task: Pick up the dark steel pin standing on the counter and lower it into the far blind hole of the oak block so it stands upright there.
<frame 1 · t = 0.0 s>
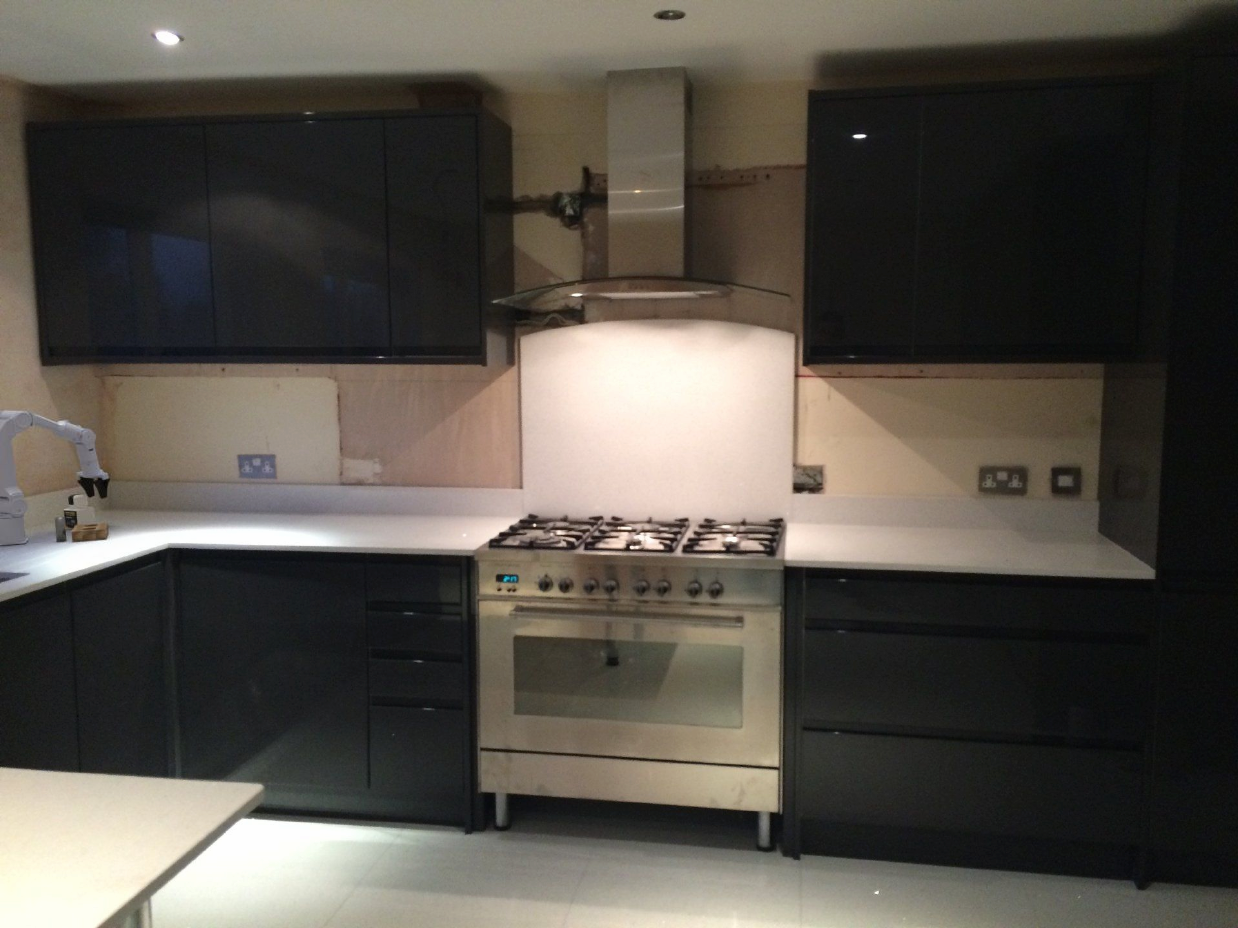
hand: (97, 497, 361), 11 cm above the counter, tool pointing down, fingers open, 6 cm apart
steel pin: (61, 541, 336), on the counter
hole block: (90, 537, 342), on the counter
medicine bottle: (80, 528, 361), on the counter, touching gripper
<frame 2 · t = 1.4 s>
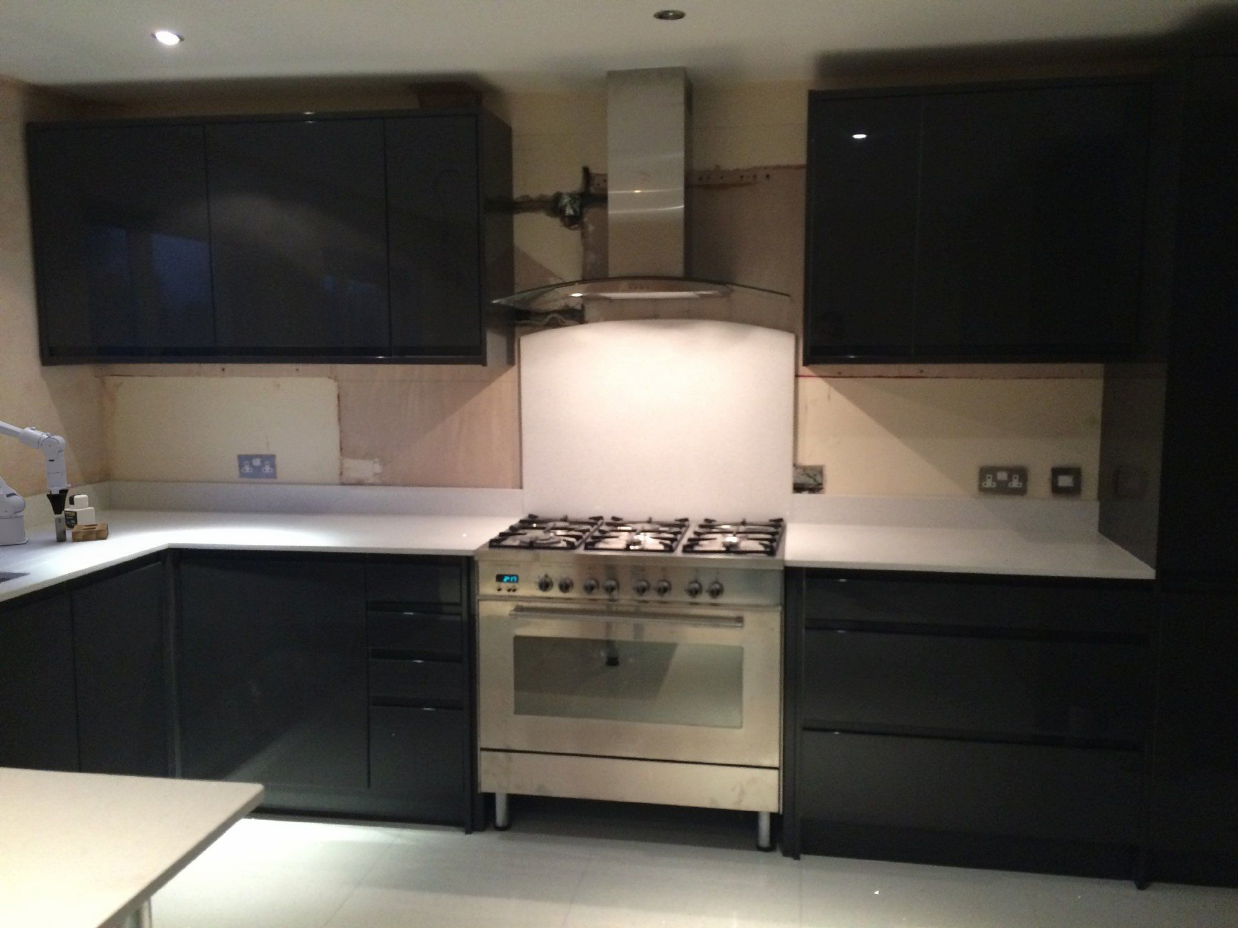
hand: (59, 512, 335), 10 cm above the counter, tool pointing down, fingers open, 7 cm apart
medicine bottle: (80, 528, 361), on the counter
everything else where it was.
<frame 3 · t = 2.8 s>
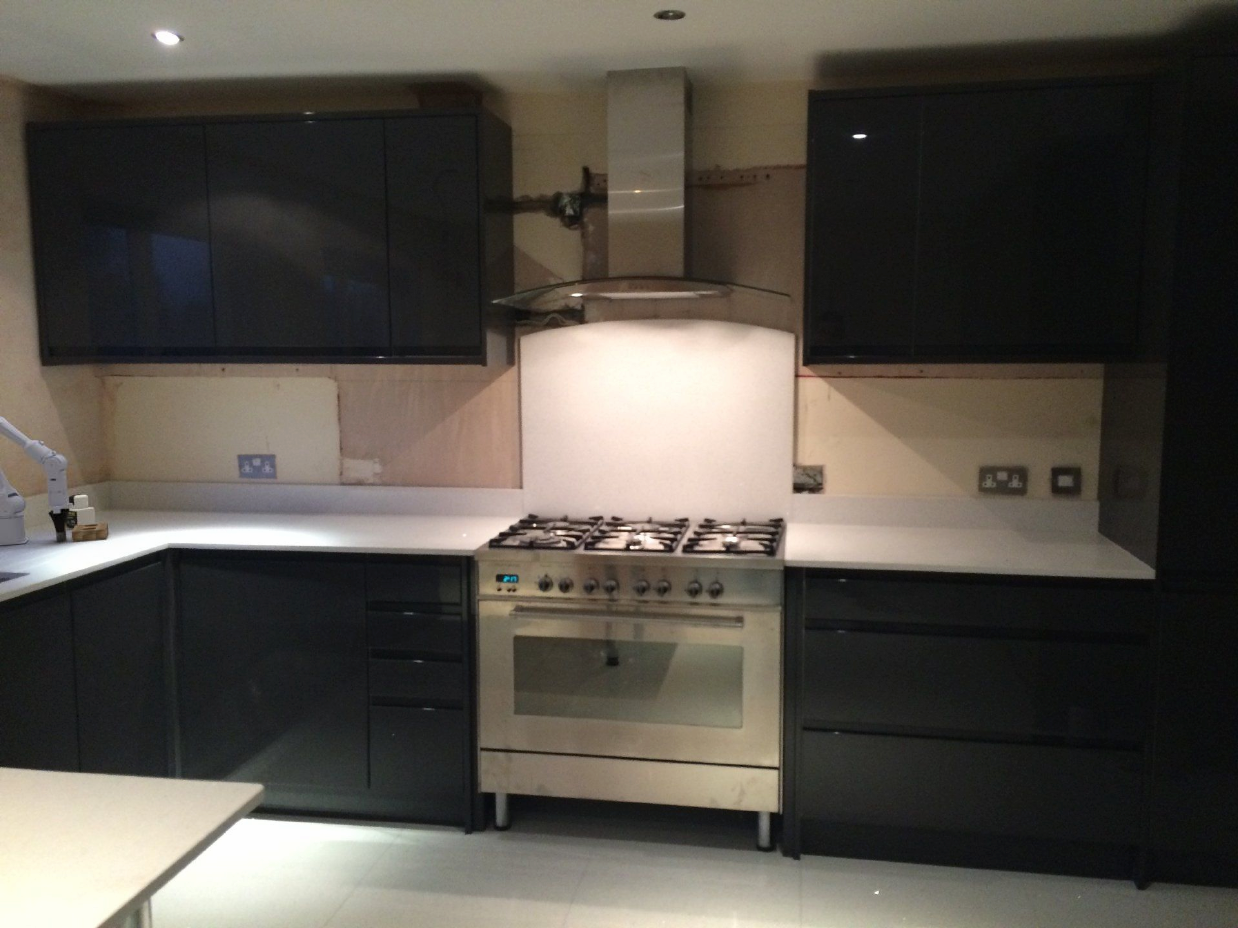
hand: (60, 531, 336), 3 cm above the counter, tool pointing down, fingers closed on steel pin, 3 cm apart
steel pin: (61, 541, 336), on the counter, touching gripper
everything else where it was.
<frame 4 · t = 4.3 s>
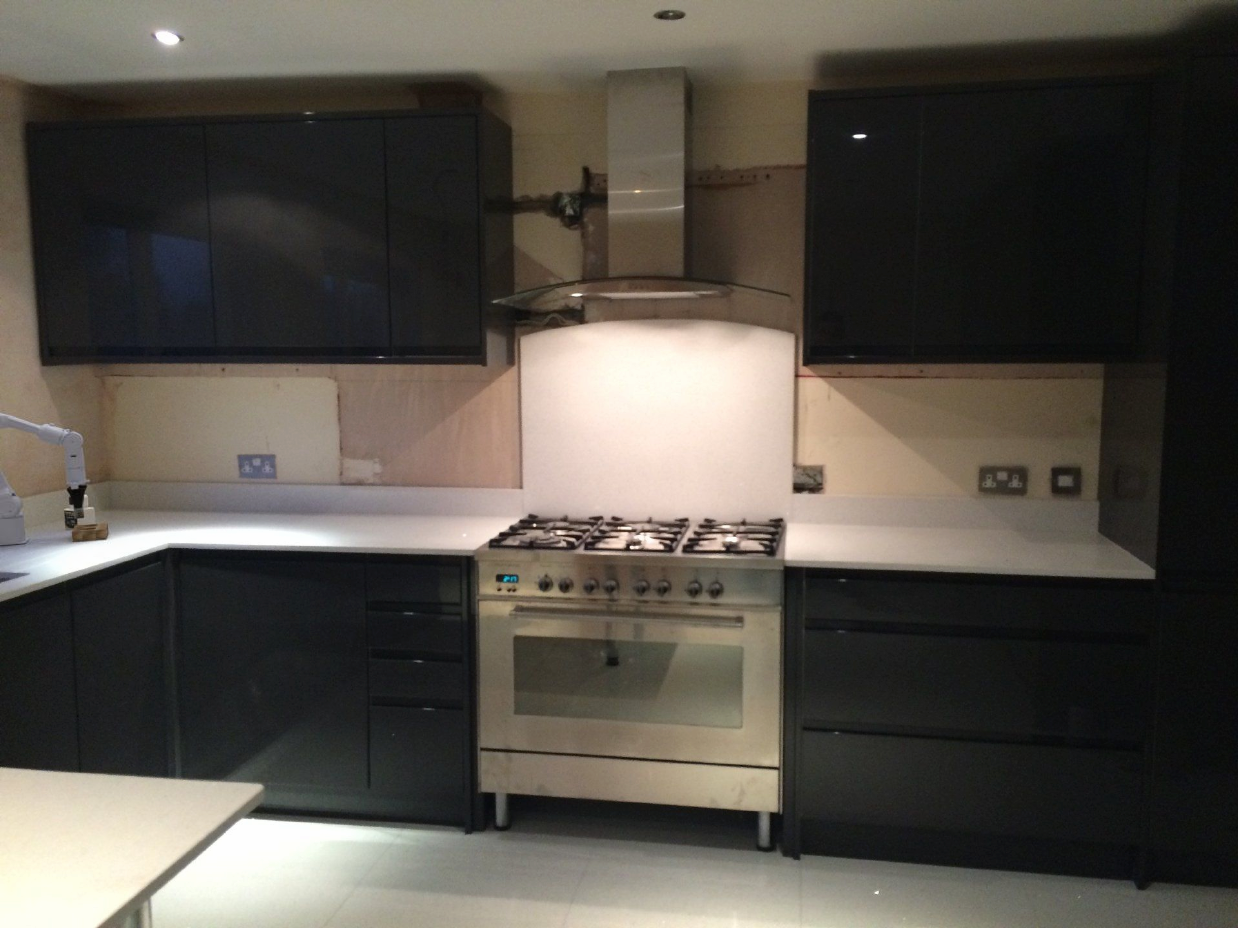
hand: (78, 507, 341), 10 cm above the counter, tool pointing down, fingers closed on steel pin, 3 cm apart
steel pin: (79, 517, 341), point 7 cm above the counter, touching gripper
everything else where it was.
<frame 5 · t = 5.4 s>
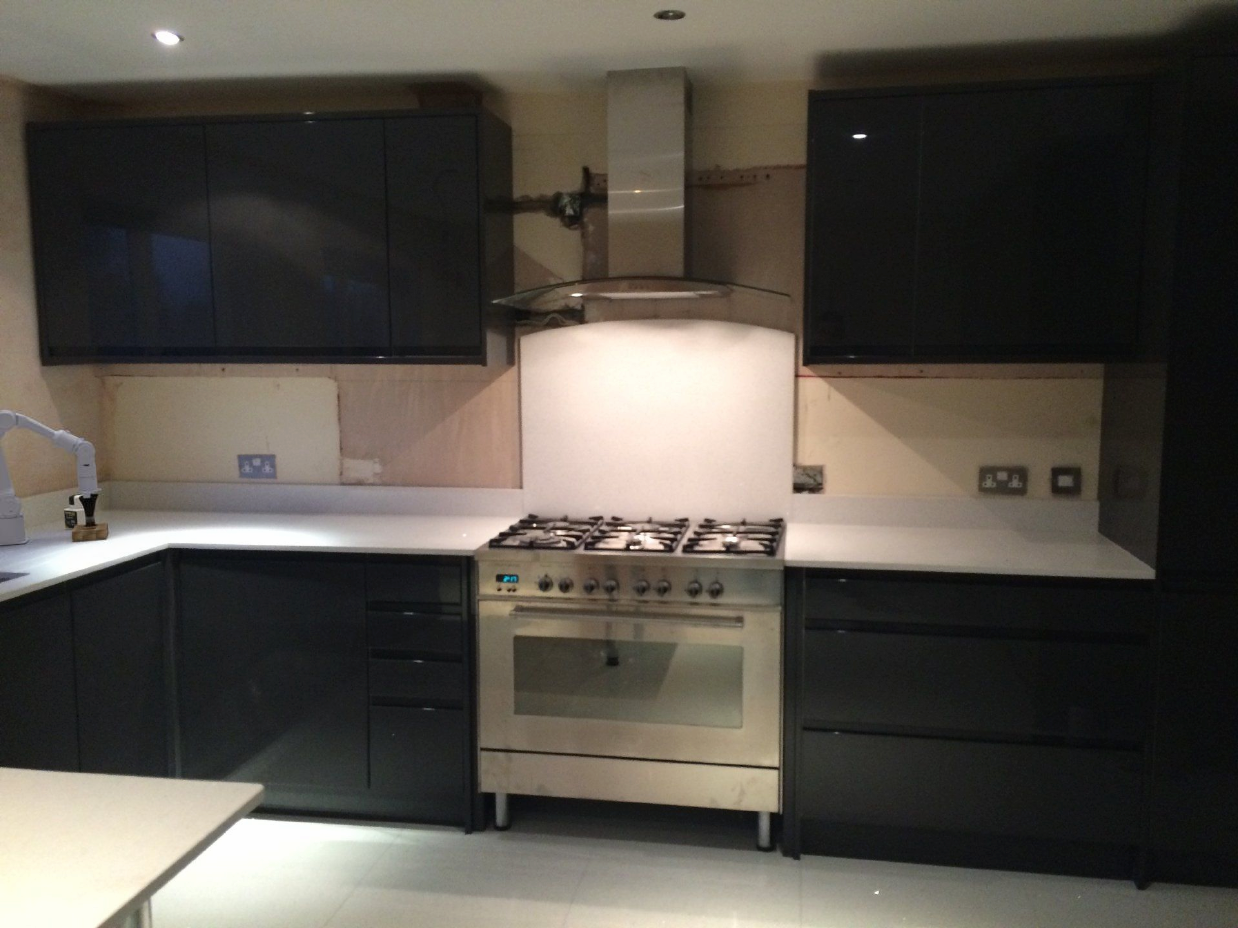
hand: (90, 516, 345), 7 cm above the counter, tool pointing down, fingers closed on steel pin, 3 cm apart
steel pin: (90, 526, 345), point 3 cm above the counter, touching gripper
everything else where it was.
when the fingers open (5 cm above the counter, at t = 6.2 s): steel pin stays where it is, resting on hole block.
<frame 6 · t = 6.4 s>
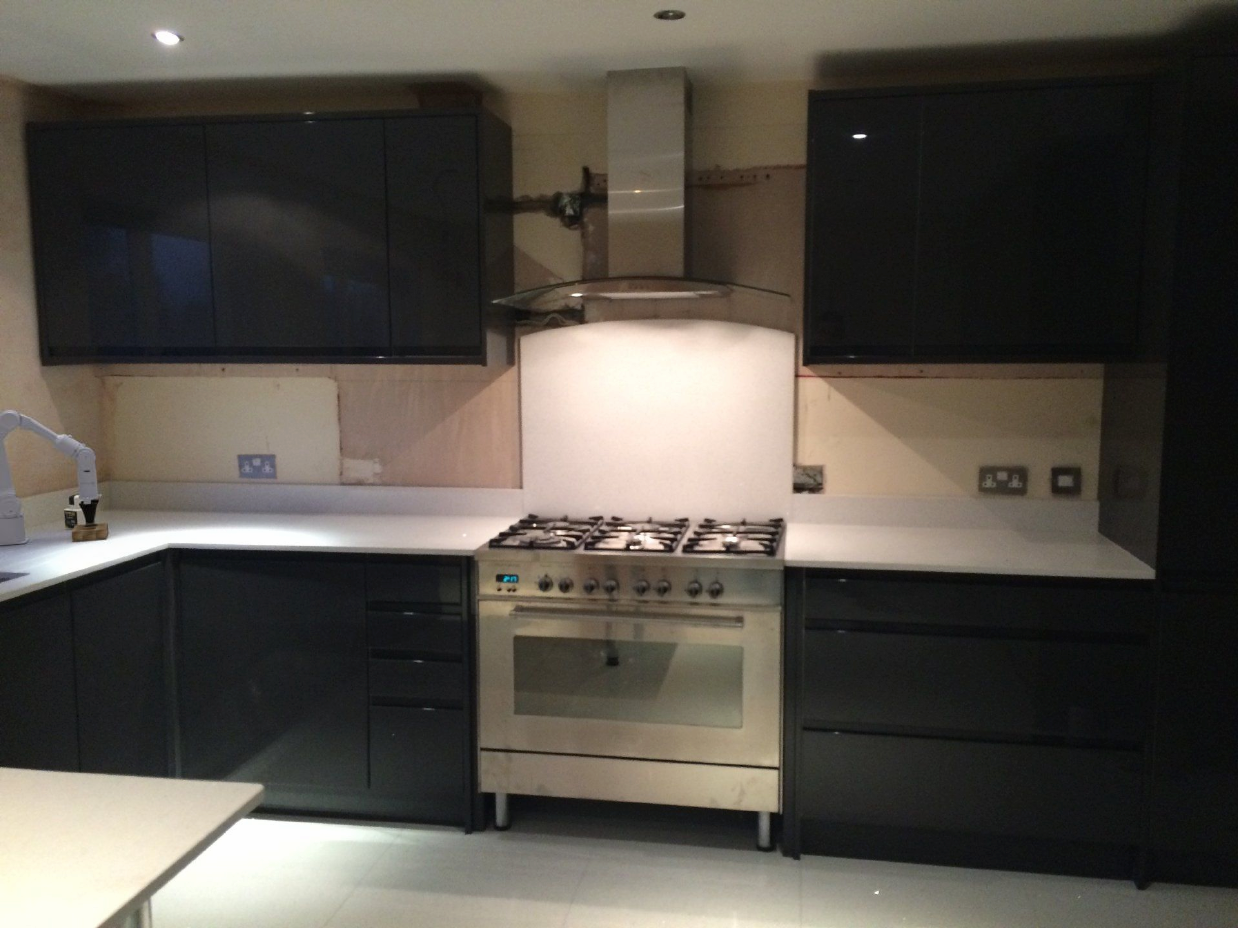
hand: (90, 522, 345), 5 cm above the counter, tool pointing down, fingers open, 4 cm apart
steel pin: (91, 534, 345), point 1 cm above the counter, touching hole block
everything else where it was.
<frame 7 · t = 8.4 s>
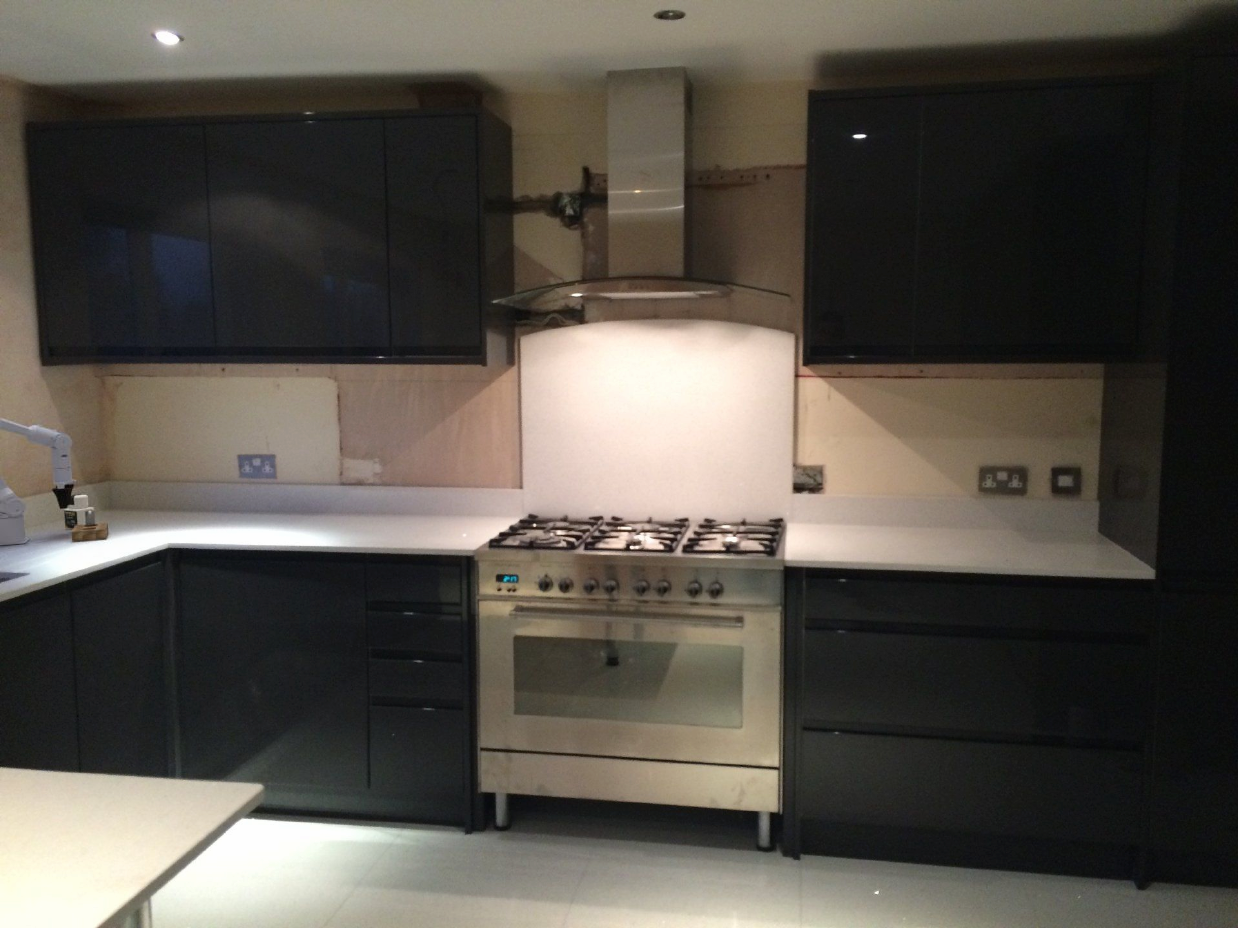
hand: (64, 507, 345), 10 cm above the counter, tool pointing down, fingers open, 7 cm apart
nothing on the counter moved.
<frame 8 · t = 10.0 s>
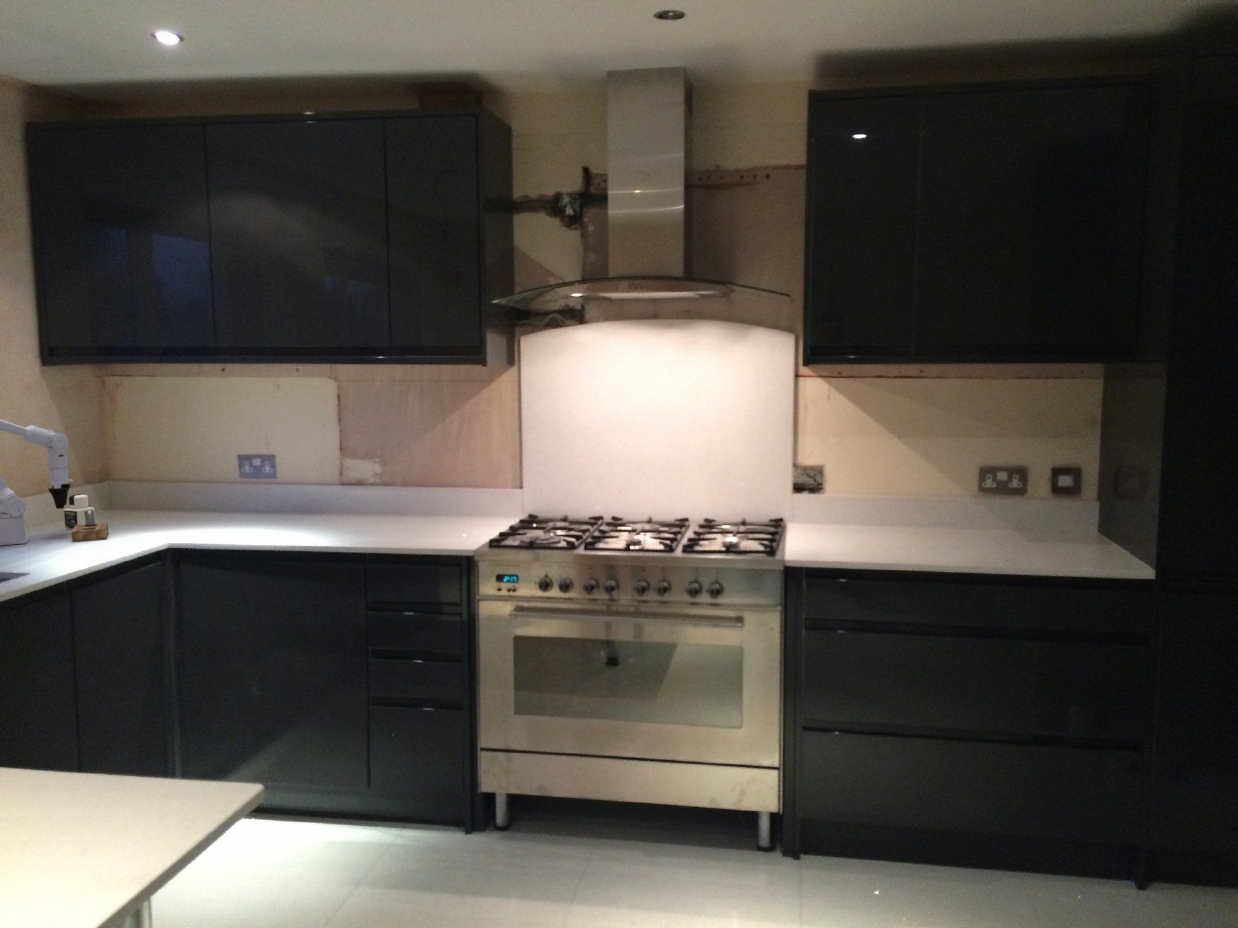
hand: (61, 506, 346), 10 cm above the counter, tool pointing down, fingers open, 7 cm apart
nothing on the counter moved.
at the end: steel pin 0.1 cm from the target spot on the hole block, point 0.5 cm above the hole block's base; steel pin tilted 1°; the gripper is holding nothing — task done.
